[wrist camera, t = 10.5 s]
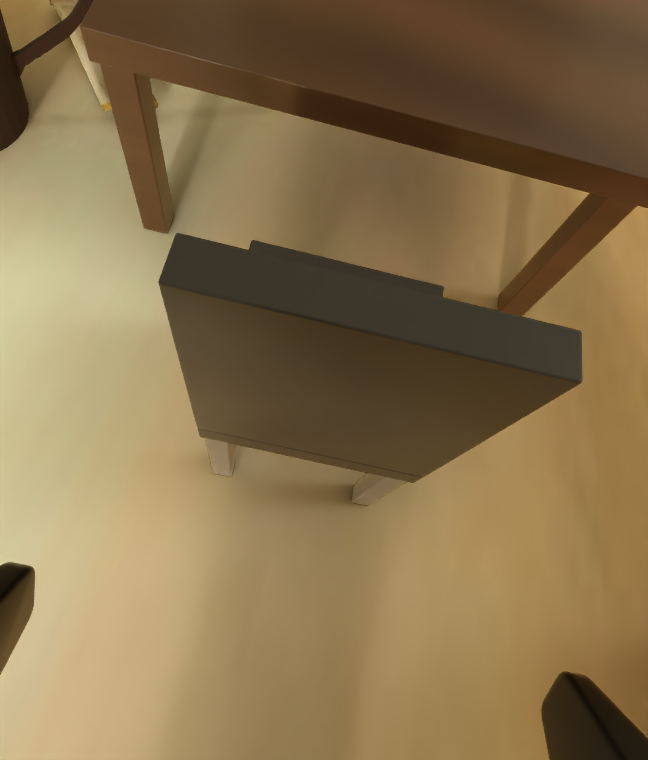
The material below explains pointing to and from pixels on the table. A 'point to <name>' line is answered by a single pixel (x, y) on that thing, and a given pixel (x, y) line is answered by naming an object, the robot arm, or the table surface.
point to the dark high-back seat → (349, 362)
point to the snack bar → (86, 55)
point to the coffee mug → (4, 67)
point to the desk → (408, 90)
